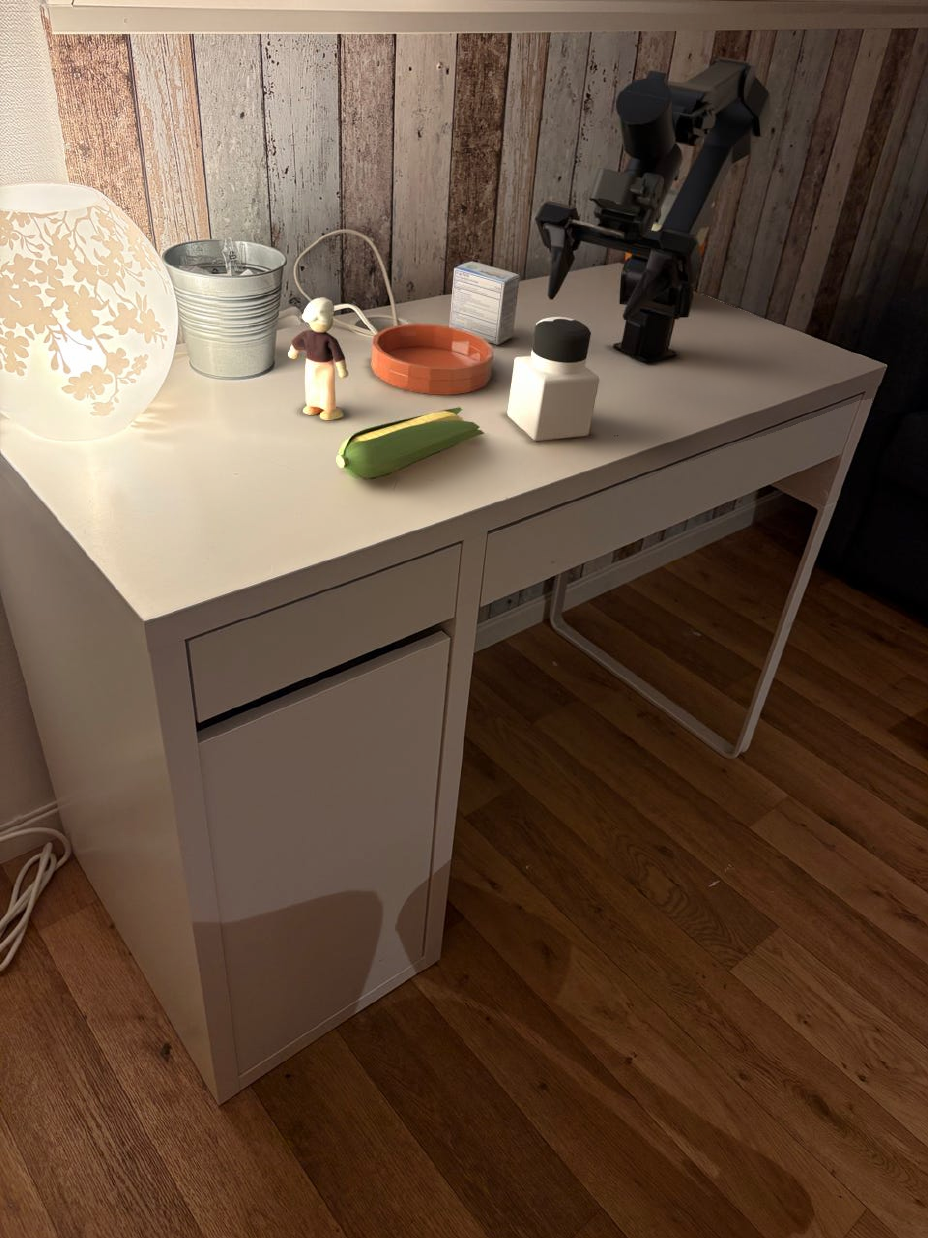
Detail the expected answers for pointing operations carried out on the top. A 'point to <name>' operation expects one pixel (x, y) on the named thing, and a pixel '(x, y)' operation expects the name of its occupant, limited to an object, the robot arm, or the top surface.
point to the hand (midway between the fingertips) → (586, 307)
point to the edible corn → (403, 443)
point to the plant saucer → (432, 358)
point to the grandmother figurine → (320, 359)
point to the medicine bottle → (554, 382)
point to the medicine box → (484, 301)
